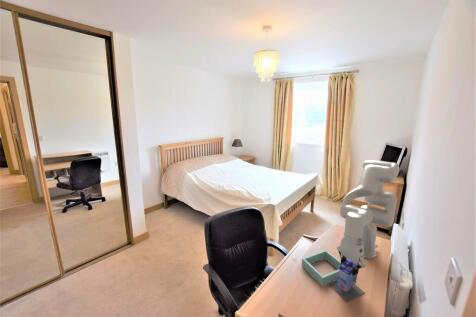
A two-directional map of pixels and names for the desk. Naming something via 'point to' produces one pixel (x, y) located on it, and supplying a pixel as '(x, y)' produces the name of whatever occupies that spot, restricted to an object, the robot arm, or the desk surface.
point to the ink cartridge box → (346, 276)
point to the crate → (321, 279)
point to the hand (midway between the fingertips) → (348, 269)
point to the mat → (349, 295)
